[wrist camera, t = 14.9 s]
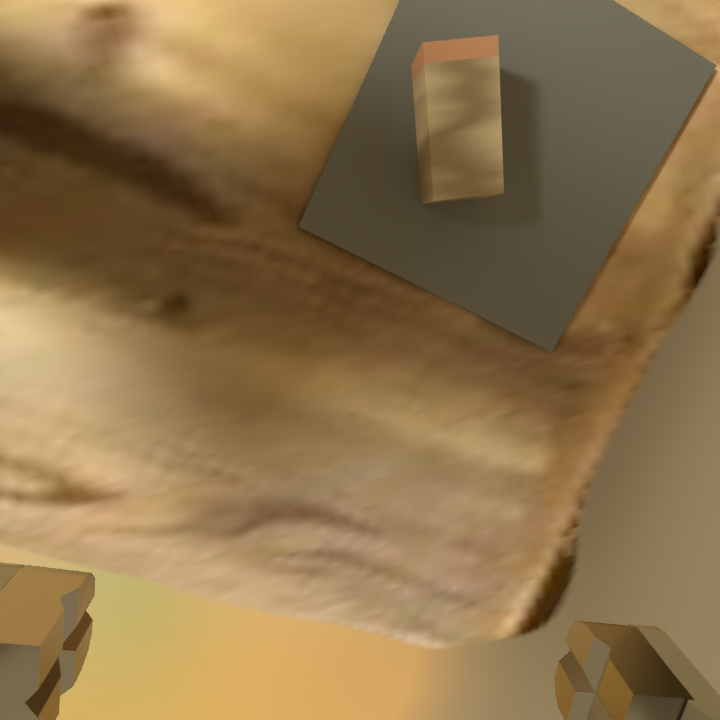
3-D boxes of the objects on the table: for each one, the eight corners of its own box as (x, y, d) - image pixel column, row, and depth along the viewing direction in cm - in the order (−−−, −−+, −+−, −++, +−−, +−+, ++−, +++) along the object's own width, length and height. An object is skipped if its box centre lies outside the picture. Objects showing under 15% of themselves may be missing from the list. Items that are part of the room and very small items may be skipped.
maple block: (433, 200, 30) (422, 42, 28) (421, 204, 34) (411, 65, 32) (503, 193, 30) (498, 35, 28) (483, 197, 34) (477, 58, 32)
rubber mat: (298, 226, 34) (298, 226, 33) (445, -100, 30) (447, -105, 30) (548, 350, 37) (551, 352, 36) (710, 67, 33) (716, 65, 33)
